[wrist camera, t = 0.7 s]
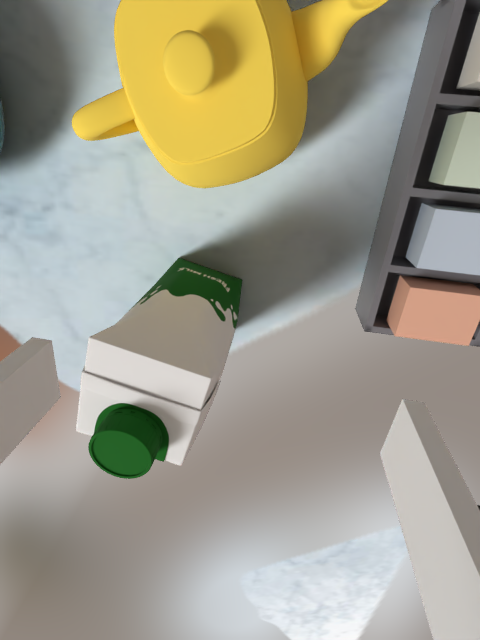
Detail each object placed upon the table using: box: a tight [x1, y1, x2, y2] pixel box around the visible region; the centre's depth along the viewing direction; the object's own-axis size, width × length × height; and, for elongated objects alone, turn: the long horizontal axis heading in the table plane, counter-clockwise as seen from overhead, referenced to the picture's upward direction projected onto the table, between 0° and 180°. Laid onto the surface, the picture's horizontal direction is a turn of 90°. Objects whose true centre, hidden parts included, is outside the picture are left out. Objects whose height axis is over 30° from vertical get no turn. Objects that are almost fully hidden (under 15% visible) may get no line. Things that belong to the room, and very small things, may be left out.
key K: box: [406, 203, 480, 275], centre depth 27 cm, size 4×6×3 cm
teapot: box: [72, 0, 388, 188], centre depth 24 cm, size 13×20×12 cm
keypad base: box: [355, 0, 480, 346], centre depth 28 cm, size 24×10×5 cm, turn 175°
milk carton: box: [76, 258, 242, 479], centre depth 29 cm, size 9×9×20 cm
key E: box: [386, 275, 480, 346], centre depth 30 cm, size 4×6×3 cm
